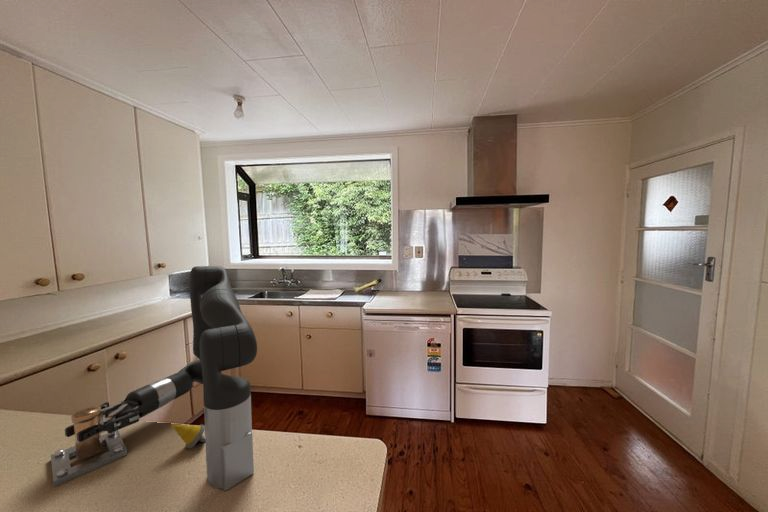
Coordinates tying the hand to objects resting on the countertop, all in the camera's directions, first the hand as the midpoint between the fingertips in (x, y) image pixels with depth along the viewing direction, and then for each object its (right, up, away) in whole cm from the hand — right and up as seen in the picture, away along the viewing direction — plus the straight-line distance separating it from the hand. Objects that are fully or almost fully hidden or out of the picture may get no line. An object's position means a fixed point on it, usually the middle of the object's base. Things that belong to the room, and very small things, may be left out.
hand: (72, 435), depth 68 cm
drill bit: (+23, -7, +6) cm, 25 cm away
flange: (+1, -7, +3) cm, 8 cm away
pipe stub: (+1, -6, +3) cm, 7 cm away
